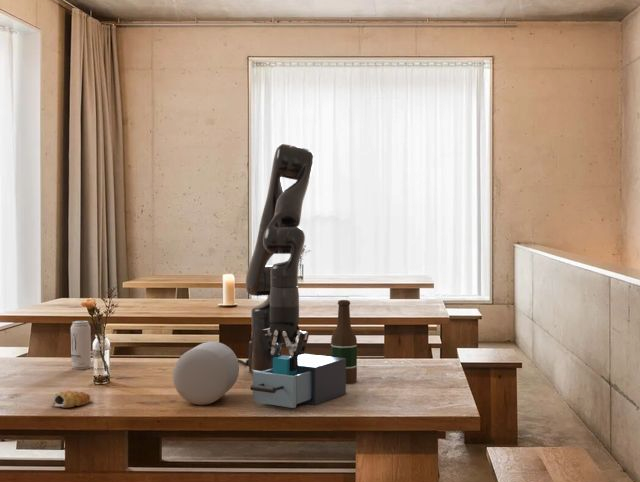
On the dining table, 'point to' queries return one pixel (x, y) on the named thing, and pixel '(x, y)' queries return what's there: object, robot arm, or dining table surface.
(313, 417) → the dining table surface
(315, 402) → the cabinet
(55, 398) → the pastry
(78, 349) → the energy drink can
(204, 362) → the grey rounded piece
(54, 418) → the dining table surface
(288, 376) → the drawer
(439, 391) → the dining table surface
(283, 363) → the teal cube block
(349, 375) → the beer bottle
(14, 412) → the dining table surface
